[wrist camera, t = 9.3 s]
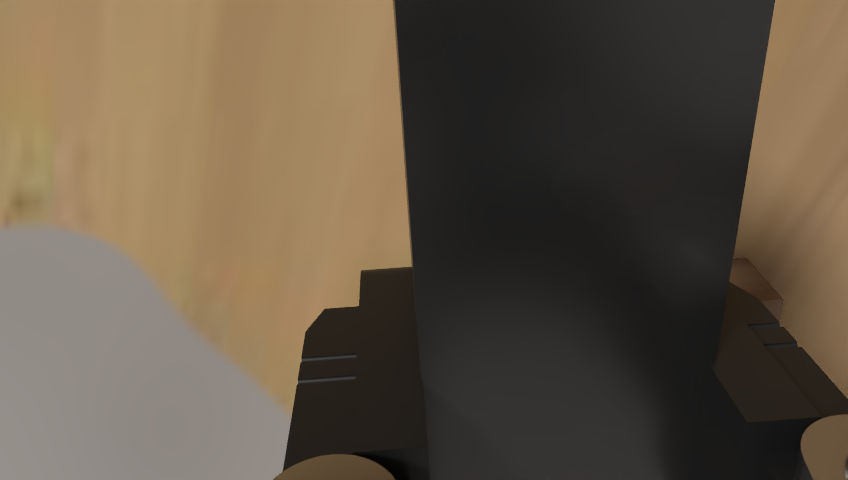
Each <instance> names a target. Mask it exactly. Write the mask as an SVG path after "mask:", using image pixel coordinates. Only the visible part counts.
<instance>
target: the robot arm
mask: <svg viewBox="0 0 848 480" xmlns="http://www.w3.org/2000/svg"><path fill="white" fill-rule="evenodd" d="M301 358H302V363H301V364H300V370H299V376H298V385H297V388H296V394H295V400H294V406H293V413H292V419H291V425H290V431H289V437H288V443H287V449H286V456H285V462H284V468H283V472H282V473H281V474H279V475H278V476H276V477H275V478H274V479H273V480H430V470H429V455H428V441H427V429H426V417H425V405H424V392H423V383H421V375H420V362H419V349H418V336H417V323H416V310H415V297H414V284H413V271H412V267H402V268H389V269H375V270H362V271H361V279H360V299H359V306H357V307H344V308H330V309H324V310H323V312H322V313H321V314H320V315H319V316H318V318H317V319H316V320H315V321H314V322H313V324H312V325H311V326H310V327H309V328H308V330H307V331H306V333H305V339H304V345H303V351H302V357H301ZM688 480H848V399H847V398H846V397H845V396H844V395H843V393H842V392H841V391H840V390H839V389H838V388H837V387H836V386H835V384H834V383H833V382H832V381H831V380H830V379H829V378H828V376H827V375H826V374H825V373H824V372H823V371H822V370H821V369H820V367H819V366H818V365H817V364H816V363H815V362H814V361H813V359H812V358H811V357H810V356H809V355H808V354H807V353H806V352H805V350H804V349H803V348H802V347H797V341H796V340H795V339H794V338H793V337H792V336H791V335H790V333H789V332H788V331H787V330H786V329H785V328H784V327H780V325H779V321H778V320H777V319H776V318H775V316H774V315H773V314H772V313H771V312H770V311H769V310H768V309H767V307H766V306H765V305H764V304H763V303H762V302H761V301H760V299H759V298H757V297H755V296H753V295H752V294H750V293H748V292H746V291H745V290H743V289H741V288H739V287H738V286H736V285H734V284H733V283H731V282H729V285H728V291H727V297H726V304H725V310H724V316H723V322H722V328H721V334H720V340H719V346H718V353H717V359H716V360H714V361H706V368H705V374H704V380H703V387H702V393H701V400H700V406H699V413H698V419H697V425H696V432H695V438H694V445H693V451H692V458H691V464H690V470H689V477H688Z"/></svg>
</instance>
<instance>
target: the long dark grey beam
mask: <svg viewBox="0 0 848 480" xmlns="http://www.w3.org/2000/svg"><path fill="white" fill-rule="evenodd" d="M774 3H775V0H393V6H394V20H395V34H396V49H397V63H398V77H399V91H400V106H401V120H402V134H403V148H404V163H405V177H406V191H407V205H408V220H409V234H410V248H411V262H412V271H413V284H414V297H415V310H416V323H417V336H418V349H419V362H420V375H421V383H423V392H424V405H425V417H426V429H427V441H428V455H429V470H430V480H688V477H689V470H690V464H691V458H692V451H693V445H694V438H695V432H696V425H697V419H698V413H699V406H700V400H701V393H702V387H703V380H704V374H705V368H706V361H714V360H716V359H717V353H718V346H719V340H720V334H721V328H722V322H723V316H724V310H725V304H726V297H727V291H728V285H729V279H730V273H731V267H732V261H733V255H734V248H735V242H736V236H737V230H738V224H739V218H740V212H741V206H742V199H743V193H744V187H745V181H746V175H747V169H748V163H749V157H750V150H751V144H752V138H753V132H754V126H755V120H756V114H757V108H758V101H759V95H760V89H761V83H762V77H763V71H764V65H765V59H766V52H767V46H768V40H769V34H770V28H771V22H772V16H773V10H774Z"/></svg>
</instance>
